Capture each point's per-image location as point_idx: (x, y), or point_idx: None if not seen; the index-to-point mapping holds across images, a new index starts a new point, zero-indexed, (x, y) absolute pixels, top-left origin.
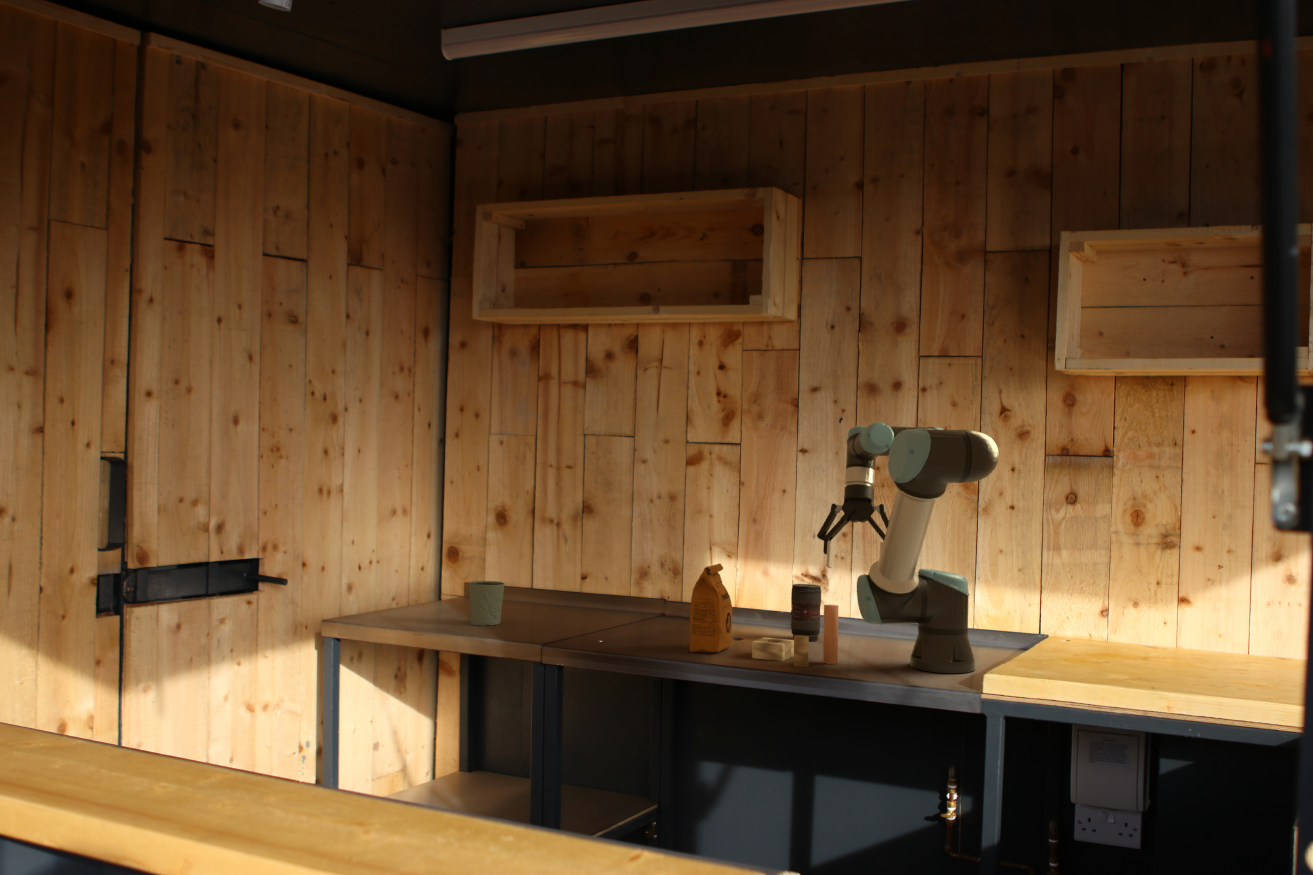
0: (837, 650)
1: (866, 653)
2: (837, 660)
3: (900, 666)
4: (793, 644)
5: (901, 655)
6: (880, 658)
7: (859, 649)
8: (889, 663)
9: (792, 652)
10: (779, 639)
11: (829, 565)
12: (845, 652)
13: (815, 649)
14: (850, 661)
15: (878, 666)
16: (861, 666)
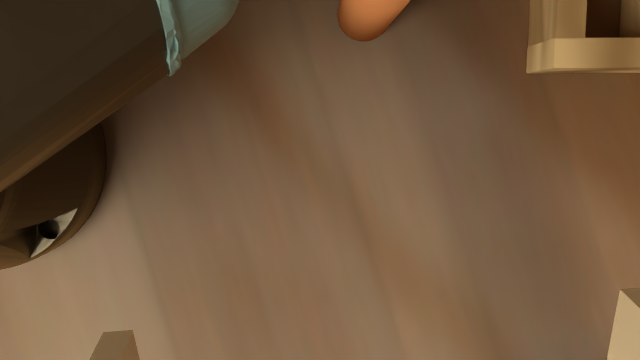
0: (340, 3)
1: (312, 274)
2: (338, 13)
3: None
4: (545, 66)
5: (192, 305)
6: (238, 206)
7: (360, 338)
8: (179, 129)
9: (533, 59)
10: (611, 50)
11: (622, 307)
12: (384, 252)
13: (499, 250)
14: (311, 88)
15: None
16: (246, 14)
